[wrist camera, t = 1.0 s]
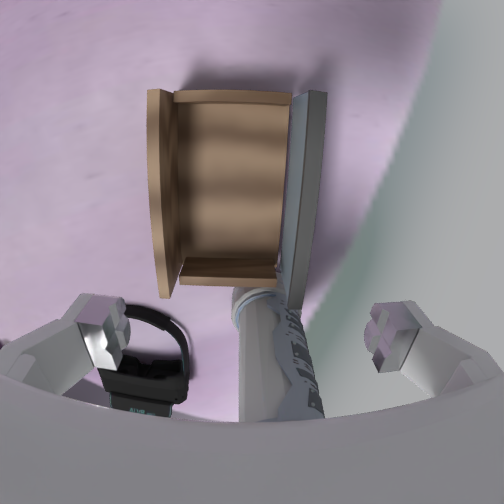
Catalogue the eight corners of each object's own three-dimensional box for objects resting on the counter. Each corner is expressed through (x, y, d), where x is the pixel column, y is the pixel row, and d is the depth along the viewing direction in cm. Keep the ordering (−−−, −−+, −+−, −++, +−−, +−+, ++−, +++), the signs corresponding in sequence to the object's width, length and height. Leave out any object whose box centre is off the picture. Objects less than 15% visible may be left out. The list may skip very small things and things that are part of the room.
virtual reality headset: (111, 381, 53) (96, 411, 44) (93, 292, 47) (68, 318, 38) (193, 393, 54) (186, 428, 45) (189, 303, 48) (178, 334, 39)
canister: (293, 263, 42) (349, 461, 15) (298, 316, 47) (339, 491, 20) (225, 274, 43) (212, 478, 16) (239, 325, 47) (239, 504, 20)
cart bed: (174, 97, 32) (147, 89, 22) (286, 99, 32) (304, 91, 22) (177, 254, 41) (159, 298, 31) (274, 257, 42) (284, 302, 32)
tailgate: (292, 97, 29) (310, 90, 21) (304, 98, 30) (327, 92, 21) (278, 267, 39) (288, 309, 31) (289, 267, 39) (301, 309, 31)
